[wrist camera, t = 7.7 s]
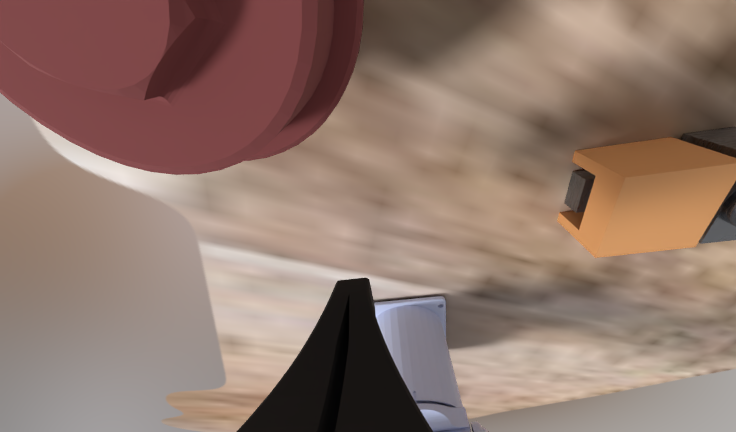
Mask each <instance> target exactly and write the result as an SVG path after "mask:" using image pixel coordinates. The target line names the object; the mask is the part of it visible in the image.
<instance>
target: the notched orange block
mask: <svg viewBox="0 0 736 432" xmlns="http://www.w3.org/2000/svg"><path fill="white" fill-rule="evenodd" d="M572 162H574V163H575V164H577V165H578V166H580V167H582V168H583V169H585V170H587V171H588V172H590V173H592V174H593V175H595V176H596V177H595V180H594V183H593V187H592V190H591V193H590V196H589V199H588V203H587V206H586V209H585V212H579V213H576V212H574V211H568V212H560V213H559V216H558V220H557V221H558V222H559V223H560V224H561V225H562V226H563V227H564V228H565V229H566V230H567V231H568V232H569V233H570V234H571V235H572V236H573V237H574V238H575V239H576V240H577V241H579V242H580V243H581V244H582V245H583V246H584V247H585V248H586V249H587V250H588V251H589V252H590V253H591V254H592V255H593V256H594V257H595V258H598V257H607V256H617V255H626V254H635V253H644V252H654V251H663V250H672V249H681V248H690V247H696V245H697V243H698V242H699V240H700V238H701V237H702V235H703V234H704V232H705V230H706V229H707V227H708V225H709V224H710V222H711V220H712V219H713V217H714V215H715V214H716V212H717V211H718V209H719V207H720V206H721V204H722V202H723V201H724V199H725V197H726V196H727V194H728V193H729V191H730V189H731V188H732V186H733V184H734V183H735V181H736V158H734V157H731V156H728V155H725V154H722V153H719V152H716V151H713V150H710V149H706V148H703V147H700V146H697V145H694V144H691V143H688V142H685V141H682V140H679V139H675V138H672V137H668V138H661V139H654V140H647V141H640V142H633V143H626V144H619V145H612V146H605V147H597V148H590V149H583V150H576V151H575V153H574V157H573V161H572Z"/></svg>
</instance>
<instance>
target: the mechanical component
mask: <svg viewBox="0 0 736 432" xmlns="http://www.w3.org/2000/svg"><path fill="white" fill-rule="evenodd" d="M363 6H364V0H0V93H1V94H3V95H4V96H5V97H6V98H7V99H8V100H9V101H11V102H12V103H13V104H15V105H16V106H17V107H19V108H20V109H21V110H23V111H24V112H25V113H27V114H28V115H30V116H31V117H32V118H34V119H35V120H36V121H38V122H39V123H41V124H42V125H44V126H45V127H47V128H49V129H50V130H52V131H53V132H55V133H57V134H58V135H60V136H62V137H63V138H65V139H67V140H68V141H70V142H72V143H74V144H76V145H78V146H80V147H82V148H84V149H86V150H88V151H90V152H92V153H94V154H96V155H99V156H101V157H104V158H107V159H109V160H112V161H115V162H118V163H120V164H123V165H126V166H130V167H134V168H138V169H142V170H146V171H150V172H158V173H166V174H175V175H178V174H201V173H207V172H212V171H218V170H222V169H224V168H227V167H230V166H233V165H235V164H238V163H241V162H242V161H250V160H255V159H261V158H267V157H270V156H273V155H276V154H279V153H282V152H284V151H286V150H288V149H290V148H292V147H294V146H296V145H298V144H299V143H301V142H302V141H304V140H305V139H306V138H308V137H309V136H310V135H312V134H313V133H314V132H315V131H316V130H317V129H318V128H319V127H320V126H321V125H322V124H323V123H324V122H325V121H326V120H327V118H328V117H329V115H330V114H331V113H332V111H333V110H334V108H335V107H336V106H337V104H338V102H339V101H340V99H341V97H342V95H343V93H344V91H345V89H346V87H347V85H348V82H349V80H350V78H351V75H352V73H353V70H354V67H355V63H356V60H357V56H358V53H359V48H360V41H361V35H362V29H363Z"/></svg>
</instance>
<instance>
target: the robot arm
mask: <svg viewBox="0 0 736 432" xmlns="http://www.w3.org/2000/svg"><path fill="white" fill-rule="evenodd" d="M440 304H441V305H440ZM471 426H472V431H473V432H489V431H487V430H486V429H485V428H484V427H483V426H481V424H480V423H479V422H471ZM237 432H471V429H470V425H469V422H468V418H467V414H466V410H465V408H464V407H463V405H462V401H461V397H460V394H459V390H458V386H457V382H456V378H455V374H454V370H453V366H452V362H451V358H450V354H449V350H448V346H447V342H446V300H445V298H444V297H442V296H436V297H426V298H416V299H406V300H396V301H385V302H375V303H374V301H373V296H372V291H371V286H370V282H369V279H367V278H359V279H349V280H340V281H338V282H337V283H336V285H335V287H334V290H333V292H332V294H331V297H330V299H329V301H328V303H327V305H326V307H325V309H324V311H323V313H322V315H321V317H320V319H319V321H318V323H317V324H316V326H315V328H314V330H313V331H312V333H311V335H310V337H309V338H308V340H307V342H306V343H305V345H304V347H303V348H302V350H301V351H300V353H299V354H298V356H297V357H296V359H295V360H294V362H293V363H292V365H291V366H290V368H289V369H288V370H287V372H286V373H285V374H284V376H283V377H282V378H281V380H280V381H279V382H278V384H277V385H276V386H275V388H274V389H273V390H272V392H271V393H270V394H269V395H268V396H267V398H266V399H265V400H264V401H263V402H262V403H261V405H260V406H259V407H258V408H257V409H256V410H255V412H254V413H253V414H252V415H251V416H250V417H249V419H248V420H247V421H246V422H245V423H244V424H243V425H242V426H241V428H240V429H239V430H238V431H237Z"/></svg>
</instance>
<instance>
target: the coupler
mask: <svg viewBox="0 0 736 432" xmlns="http://www.w3.org/2000/svg"><path fill="white" fill-rule="evenodd" d="M681 140H682V141H685V142H688V143H691V144H694V145H697V146H700V147H703V148H706V149H710V150H713V151H716V152H719V153H722V154H725V155H728V156H731V157H734V158H736V127H729V128H722V129H715V130H708V131H700V132H693V133H686V134H683V137H682V139H681ZM595 177H596V176H595V175H593V174H592V173H590V172H588V171H587V170H580V171H573V172H572V176H571V180H570V184H569V188H568V191H567V195H566V199H565V204H566V205H567V206H569V207H570V208H571V209H572V210H573V211H574V212H576V213H579V212H585V209H586V206H587V203H588V199H589V196H590V193H591V190H592V187H593V183H594V180H595ZM730 240H736V181H735V183H734V184H733V186H732V188H731V189H730V191H729V193H728V194H727V196H726V197H725V199H724V201H723V202H722V204H721V206H720V207H719V209H718V211H717V212H716V214H715V215H714V217H713V219H712V220H711V222H710V224H709V225H708V227H707V229H706V230H705V232H704V234H703V235H702V237H701V238H700V240H699V243H711V242H720V241H730Z"/></svg>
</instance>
